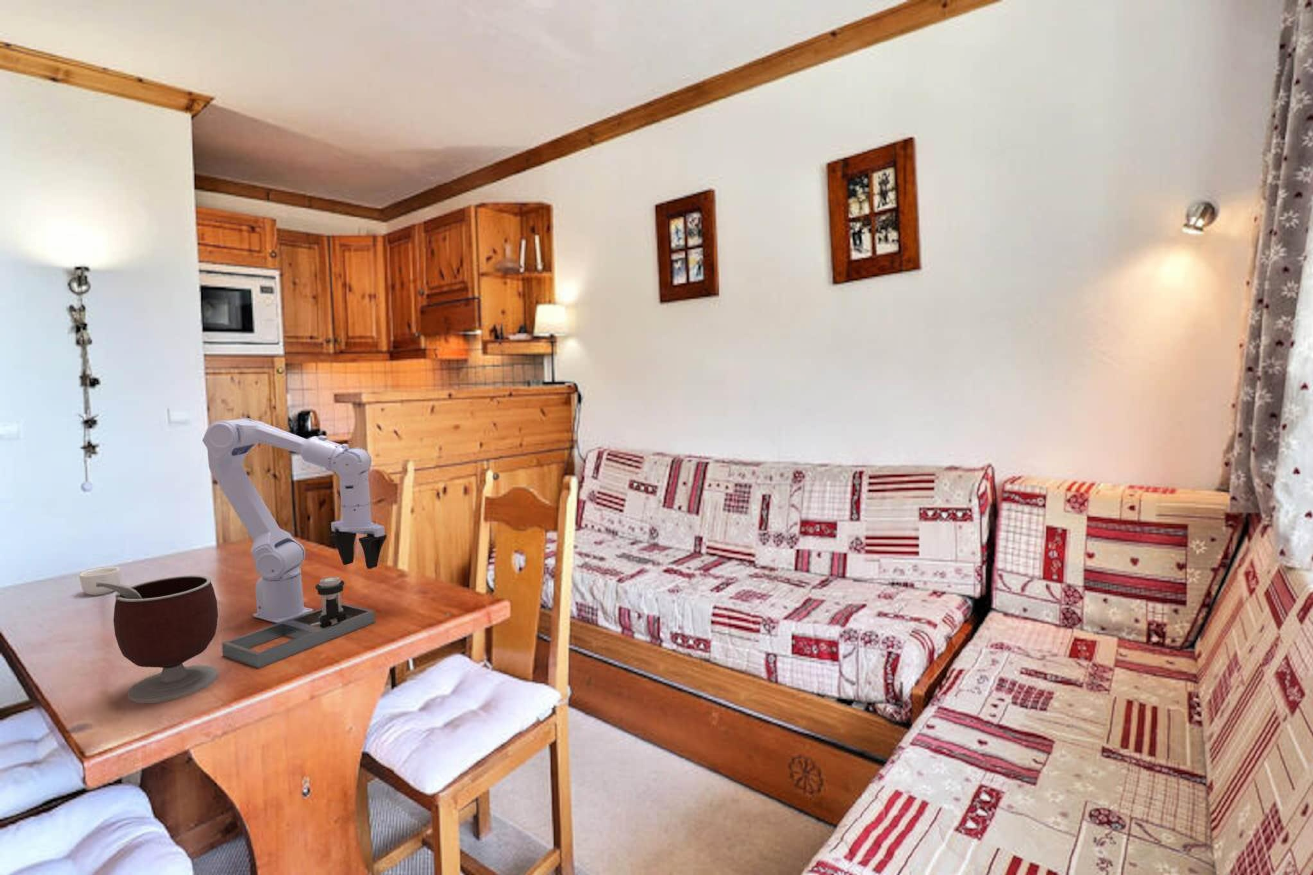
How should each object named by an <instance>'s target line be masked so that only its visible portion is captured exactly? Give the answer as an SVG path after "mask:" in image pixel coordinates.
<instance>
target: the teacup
mask: <svg viewBox="0 0 1313 875" xmlns="http://www.w3.org/2000/svg"><path fill="white" fill-rule="evenodd" d="M78 576H79V577H78V578H79V582H80V586H81V590H82V591H83V592H84V593H85V594H87V595H89V596H102V595H107V594H110V593H112V592H114V590H112V589H109V588H105V587H96V584H97V582H108V583H114V584H121V568H120V567H119V566H105V567H99V568H98V567H97V568H94V569H89V570H86V571H83V572H81V573H80V574H79V575H78Z"/></svg>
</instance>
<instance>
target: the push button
mask: <svg viewBox="0 0 1313 875" xmlns="http://www.w3.org/2000/svg"><path fill="white" fill-rule="evenodd" d="M345 584H346V583H345V581H344V580H340V577H339V576H329V577H325V578H324V577H323V578H322V579H320V581H319V583H318V584H316V585H315V589H316V590H317V595H319V596H320V598H321V599H320V600H321V602H320V603H321V609H322V613H321V616H319V622H317V623H314V625H317V624H319V625H320V626H319V628H322V629H323V628H325V627H328V626H331V625H333V624H336V623H339V622H341V621H344V620H346V619H347V617H346V613H345V612H343V608H341V603H342V596H341V594H342V591H344V585H345ZM311 625H312V626H313V624H311Z"/></svg>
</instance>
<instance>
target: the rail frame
mask: <svg viewBox="0 0 1313 875" xmlns="http://www.w3.org/2000/svg"><path fill="white" fill-rule="evenodd" d="M341 608H343V612H345V613H346V620H344V621H341V622H339V623H336V624H333V625H331V626H328V627H325V628H323V629H322V628H319V626H320V625H319V624H317V625H314V623H317V622H319V616H321V613H322V608H319V609H317V610H313V611H312V612H310V613H307V614H304V615H301V616H298V617H295V618H292V619H289V620H286V621H284V622H281V623H275V624H272V625H270V626H267V627H264V628H261V629H259V630H255V631H253V632H250V633H249V632H248V633H247V634H244V635H240V636H238V637H235V638H232V639H230V640H226V641H224V642H221V649H222V650H221V651H222V657H224V658H228V659H231V660H233V661H236V662H239V663H242V664H244V665H248V666H250V667H253V668H256V669H260V668H262V667H263V668H264V667H265V666H269V665H270V664H273V663H276V662H278V661H280V660H283V659H285V658H288V657H290V656H293V655H295V654H298V653H301V652H303V651H305V650H306V651H307V650H308V649H311V648H314V647H315V646H319V645H321V644H324V643H326V642H329V641H331V640H333V639H336V638H339V637H341V636H344V635H346V634H349V633H352V632H354V631H357V630H359V629H362V628H364V627H367V626H369V625H372V624H374V623H375V622H376V620H375V610H373V609H372V610H371V609H368V608H362V607H359V606H355V605H351V604H346V603H342V602H341ZM311 624H313V626H312V625H311ZM281 637H288V638H291V640H288V641H285V642H283V643H281V644H277V645H275V646H273V647H270V648H267V649H264V650H261V651H256V650H253V649H250V648H254V647H256V646H258V645H262V644H264V643H267V642H269V641H273V640H275V639H278V638H281Z"/></svg>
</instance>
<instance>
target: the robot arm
mask: <svg viewBox="0 0 1313 875" xmlns="http://www.w3.org/2000/svg"><path fill="white" fill-rule="evenodd" d="M202 443H203V444H204V445H205V447H206V450H207V458H208V459H207V460H208V468H209V470H210V471H209V472H210V473H211V474H212V476H213V477H214V480H215V481H216V483H217V484H218V486H219V487H220V489H221V490H222V492H223V494H224V496H225V498H226V499H227V501H228V502H229V503H230V505H231V507H232V508H233V511H234V512H235V513H236V515H237V517H238V518H239V520H240V522H241V523H242V525H243V526H244V529H245V530H246V531H247V533H248V534H249V536H250V538H251V540H252V542H253V543H252V547H251V550H250V554H251V555H252V557H253V561H254V566H255V571H256V572H257V575H259V576H260V577H259V578H258V580H256V581H257V582H256V584H255V589H254V590H255V599H256V611H257V612H256V613H253V615H252V616H253V617H254V618H258V619H261V620H265V621H268V622H272V623H275V624H278V623H281V622H284V621H287V620H290V619H293V618H296V617H298V616H301V615H304V614H307V613H310V612H313V611H314V609H313V608H309V607H305V605H304V594H303V581H302V568H301V565H302V564H303V562H304V561H305V558H306V550H305V547H304V545H302V544H301V543H300V542H299V541H298V540H296V539H295V538H293V536H292V534H291V533H290V532H289V531H286V530H285V529H282V528H280V526H279V525H278V523H277V522H276V521H277V520H275V518H274V516H273V515H272V513H271V511H270V510H269V508H268V507H267V505H266V502H264V500H263V499H262V497H261V495H260V493H259V491H258V490H257V489H256V487H255V485H254V483H253V481H252V480H251V478H250V477H249V475H248V474H247V472H246V470H245V469H244V467H243V463H244V462H245V459H246V457H247V454H248V453H249V452H250V451H251V450H252V449H253V447H254V446H256V444H265V445H269V446H272V447H275V448H280V449H283V450H287V451H290V452H294V453H298V454H300V456H301V458H302V459H303V461H304V462H306V463H309V464H313V465H315V466H318V467H322V468H325V469H328V470H331V471H334V472H335V473H336V475H337V476H338V478H339V489H340V491H339V492H340V506H341V520H336V521H332V522H331V523H330V525H331V532H334V533H332V534H329V539H330V540H331V541H332V543H333V544H334V545H335V548H336V549H337V551H338V553H339V557H340V559H341V562H342V565H343V566H346V565H350V564H354V561H355V560H354V559H355V557H354V556H355V542H356V537H357V534H361V535H366V536H362V537H359V538H358V542H359V543H360V545H361V548H362V550H363V554H364V560H365V566H366V569H367V570H371V569H374V568H377V567H378V563H379V558H380V553H381V551H382V547H383V545H384V543H385V541H386V539H387V534H385V532H386V531H385V530H386V529H385V526H383V525H379V524H377V523H374V522H373V521H372V511H371V497H370V496H371V494H370V483H369V472H368V470H370V467H371V465H372V457H371V455H370V454H369V452H368V451H367V450H365V449H363V448H362V447H360V446H359V447H358V446H356V447H352V448H350V446H349V444H346V443H343V444H340V443H337V442H335V441H332V440H328V437H327V436H325V435H323V434H322V435H318V436H315V435H314V436H311V437H308V438H304V437H301V436H299V435H297V434H294V433H291V432H289V431H285V430H284V429H281V428H278V427H276V426H273V425H270V424H267V423H266V422H263V421H260V420H253V419H251V418H248V417H241V418H238V419H230V420H216V421H214V422H212V423H210V424H209V426H208V427H207V429H206V430H205V433H204V436H203V438H202Z"/></svg>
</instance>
